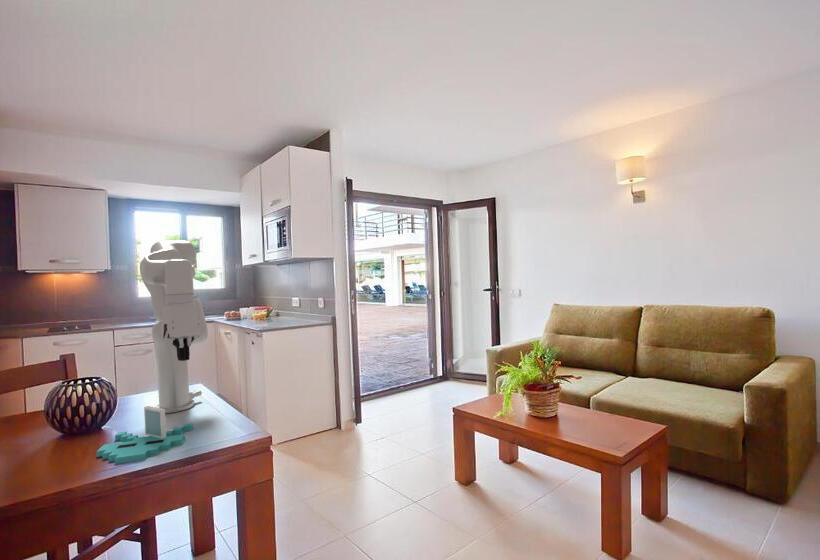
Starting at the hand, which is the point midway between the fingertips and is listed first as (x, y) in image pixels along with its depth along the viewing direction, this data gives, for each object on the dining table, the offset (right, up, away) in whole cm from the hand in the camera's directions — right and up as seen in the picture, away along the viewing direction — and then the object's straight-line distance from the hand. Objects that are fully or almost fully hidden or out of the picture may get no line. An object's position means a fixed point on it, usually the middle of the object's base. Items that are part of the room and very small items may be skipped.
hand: (183, 359), depth 126 cm
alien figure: (-5, -23, -11) cm, 26 cm away
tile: (-4, -20, -8) cm, 22 cm away
